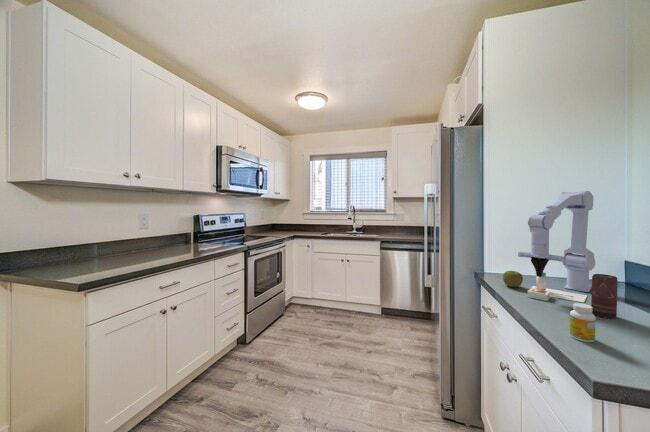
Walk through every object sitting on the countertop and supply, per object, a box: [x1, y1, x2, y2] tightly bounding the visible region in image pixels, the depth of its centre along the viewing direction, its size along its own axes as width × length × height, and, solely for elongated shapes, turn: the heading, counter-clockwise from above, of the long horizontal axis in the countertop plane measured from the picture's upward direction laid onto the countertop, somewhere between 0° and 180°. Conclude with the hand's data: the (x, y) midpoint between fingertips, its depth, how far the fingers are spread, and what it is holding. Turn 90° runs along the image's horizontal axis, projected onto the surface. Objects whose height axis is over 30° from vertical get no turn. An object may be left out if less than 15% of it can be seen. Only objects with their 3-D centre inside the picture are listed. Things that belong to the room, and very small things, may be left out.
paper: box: [526, 285, 588, 304], centre depth 113 cm, size 11×18×1 cm, turn 40°
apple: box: [502, 270, 524, 288], centre depth 124 cm, size 8×8×7 cm
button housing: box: [527, 287, 552, 302], centre depth 110 cm, size 6×6×2 cm
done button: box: [534, 289, 545, 294], centre depth 110 cm, size 4×4×2 cm
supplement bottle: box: [569, 302, 597, 343], centre depth 77 cm, size 5×5×10 cm
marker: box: [535, 271, 547, 290], centre depth 117 cm, size 3×3×8 cm
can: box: [590, 273, 619, 320], centre depth 91 cm, size 6×6×14 cm
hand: (539, 276), depth 110 cm, fingers closed
